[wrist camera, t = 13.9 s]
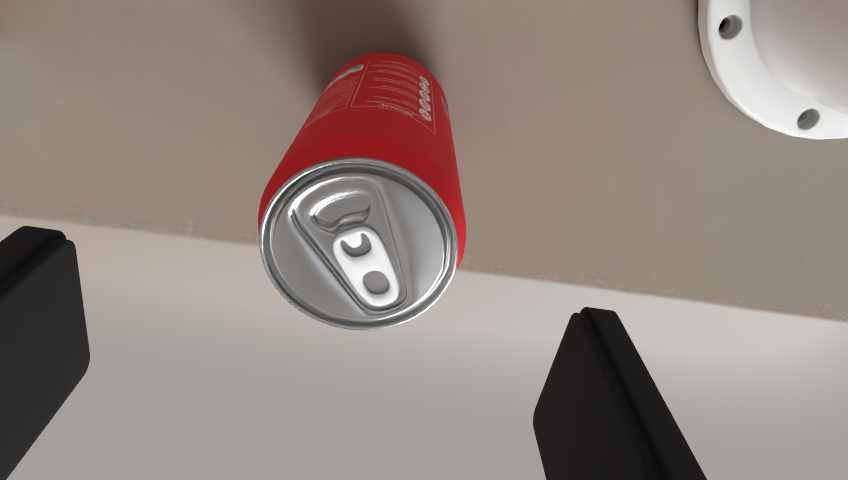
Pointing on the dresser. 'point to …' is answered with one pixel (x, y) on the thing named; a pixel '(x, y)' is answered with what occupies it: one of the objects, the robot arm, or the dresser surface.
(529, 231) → the dresser surface
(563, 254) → the dresser surface
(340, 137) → the beverage can
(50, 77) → the dresser surface
